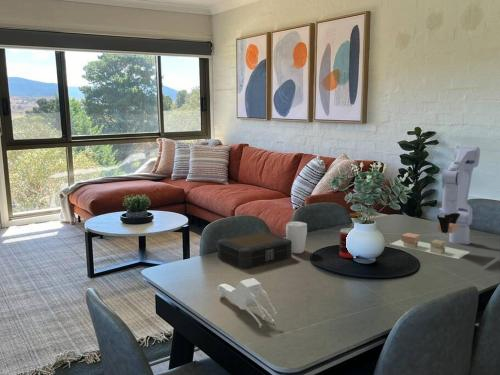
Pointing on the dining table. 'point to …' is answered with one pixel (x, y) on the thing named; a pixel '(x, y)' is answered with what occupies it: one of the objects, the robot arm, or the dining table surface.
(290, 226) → the cup
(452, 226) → the cap plain
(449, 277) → the dining table surface
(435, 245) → the plain block
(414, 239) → the cap marked
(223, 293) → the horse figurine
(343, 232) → the canned food
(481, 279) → the dining table surface
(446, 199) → the robot arm
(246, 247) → the cash box
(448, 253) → the board
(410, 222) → the dining table surface
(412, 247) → the marked block
